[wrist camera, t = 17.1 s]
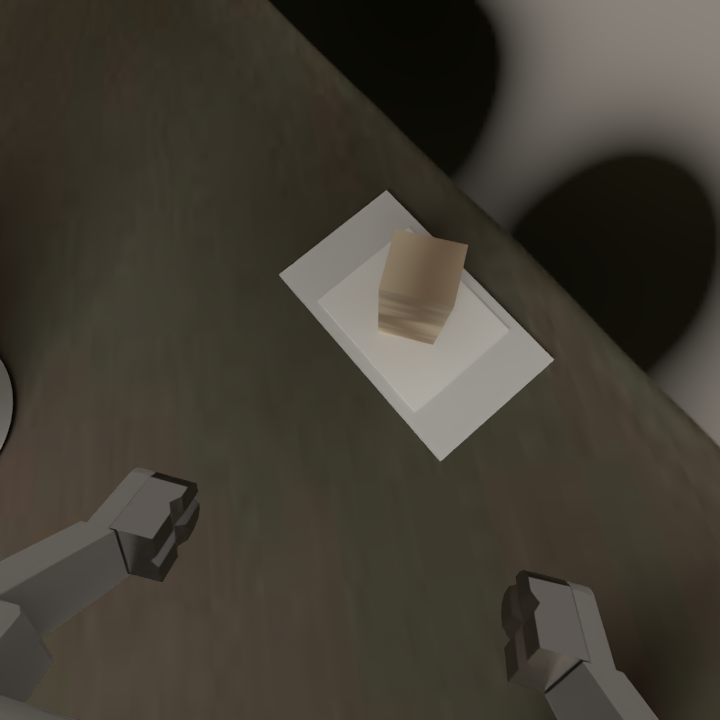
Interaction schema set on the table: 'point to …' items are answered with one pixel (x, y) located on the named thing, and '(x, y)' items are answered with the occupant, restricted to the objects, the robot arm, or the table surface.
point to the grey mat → (409, 357)
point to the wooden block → (419, 285)
